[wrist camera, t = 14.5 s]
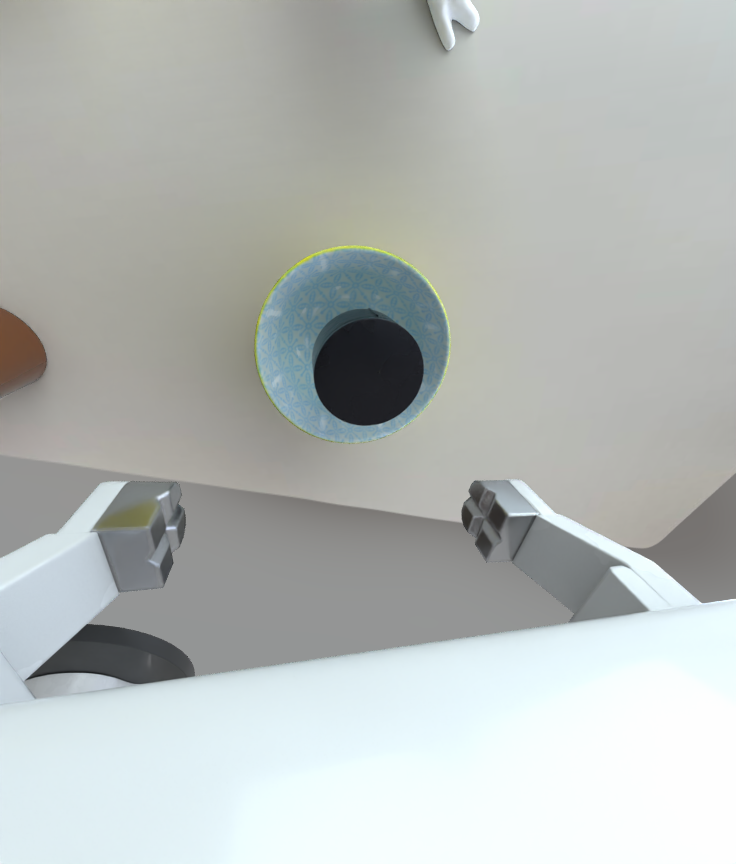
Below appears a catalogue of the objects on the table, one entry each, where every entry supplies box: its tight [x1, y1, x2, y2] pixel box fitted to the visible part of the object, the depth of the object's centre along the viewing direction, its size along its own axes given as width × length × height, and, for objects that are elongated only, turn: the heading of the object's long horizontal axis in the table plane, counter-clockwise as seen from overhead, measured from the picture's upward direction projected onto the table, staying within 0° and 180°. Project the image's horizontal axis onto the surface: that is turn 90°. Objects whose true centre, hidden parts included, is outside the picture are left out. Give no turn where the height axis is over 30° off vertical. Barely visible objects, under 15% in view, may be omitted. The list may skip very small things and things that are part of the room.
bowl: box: [254, 246, 451, 444], centre depth 21 cm, size 11×12×6 cm
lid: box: [312, 308, 424, 426], centre depth 17 cm, size 6×6×3 cm
